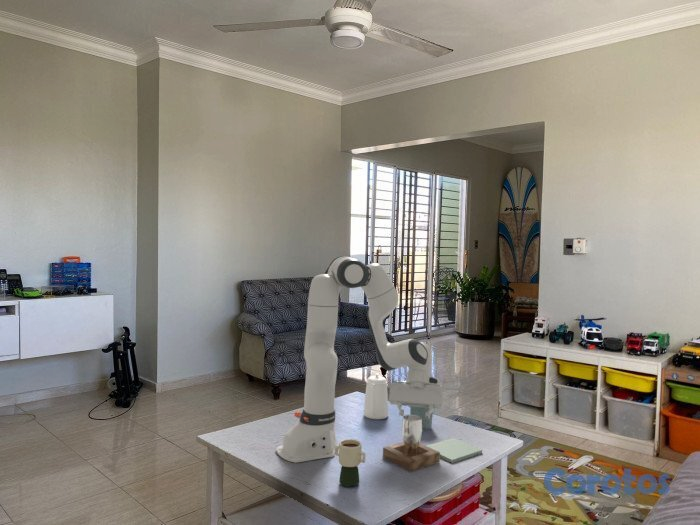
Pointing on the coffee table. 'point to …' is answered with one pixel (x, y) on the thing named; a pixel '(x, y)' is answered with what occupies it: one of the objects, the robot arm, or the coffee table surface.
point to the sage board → (454, 450)
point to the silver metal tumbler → (411, 434)
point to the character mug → (350, 460)
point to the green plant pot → (422, 416)
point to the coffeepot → (376, 398)
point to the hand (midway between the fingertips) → (414, 416)
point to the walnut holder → (411, 463)
